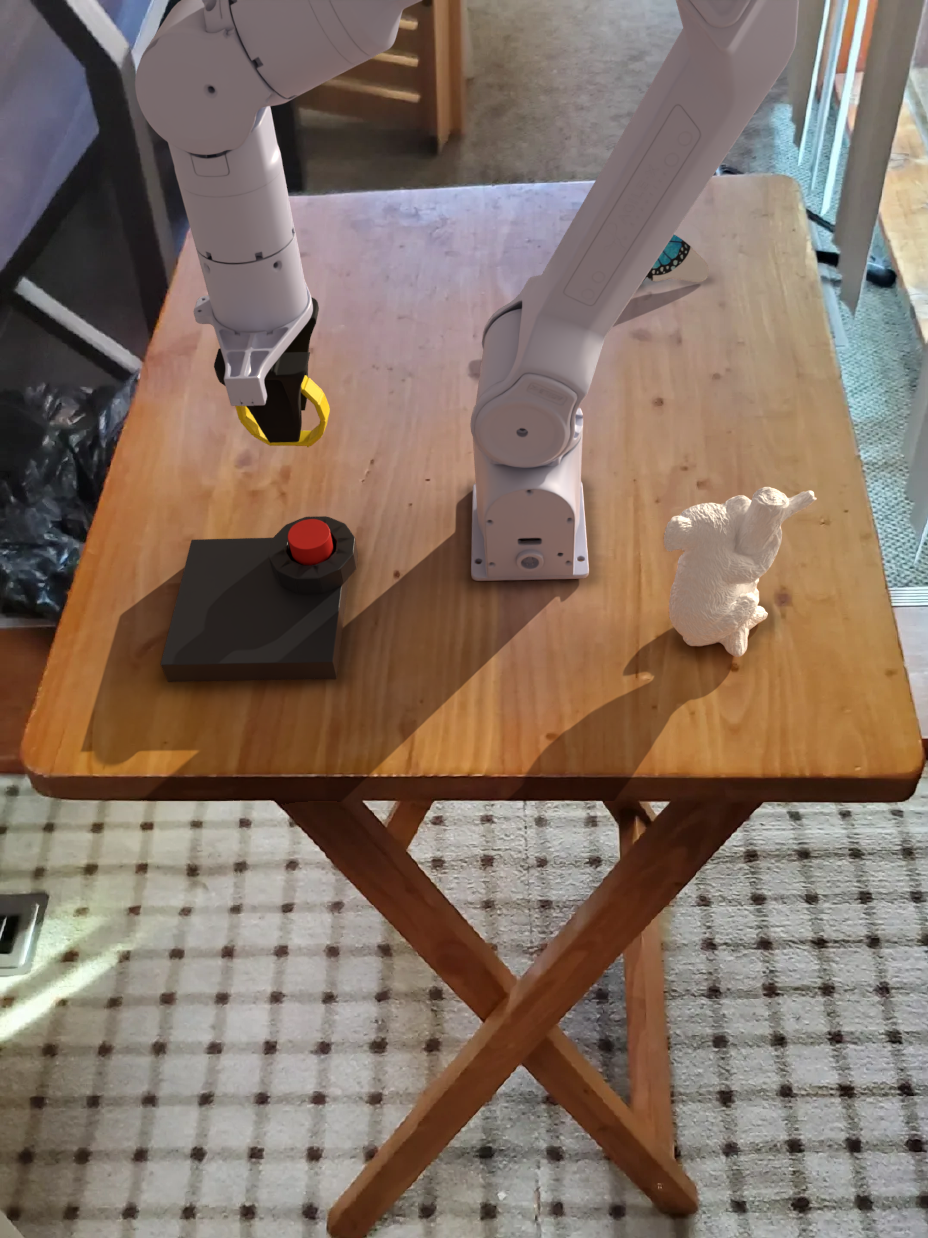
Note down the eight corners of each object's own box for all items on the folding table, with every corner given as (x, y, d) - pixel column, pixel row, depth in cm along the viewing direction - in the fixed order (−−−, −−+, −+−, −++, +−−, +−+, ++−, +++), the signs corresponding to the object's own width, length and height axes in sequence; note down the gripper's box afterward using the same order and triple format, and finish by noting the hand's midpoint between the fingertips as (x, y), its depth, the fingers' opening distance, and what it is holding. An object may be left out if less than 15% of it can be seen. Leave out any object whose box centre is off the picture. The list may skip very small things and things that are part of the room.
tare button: (331, 565, 71) (327, 548, 70) (289, 566, 71) (285, 549, 70) (335, 534, 73) (331, 518, 72) (294, 535, 73) (290, 519, 72)
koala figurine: (776, 590, 72) (810, 454, 62) (790, 671, 67) (830, 537, 58) (647, 590, 72) (663, 455, 63) (654, 670, 68) (671, 538, 59)
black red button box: (350, 679, 69) (342, 645, 66) (168, 682, 70) (153, 649, 67) (363, 550, 76) (357, 515, 73) (198, 554, 77) (186, 519, 74)
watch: (338, 430, 73) (324, 358, 69) (328, 458, 72) (314, 386, 67) (253, 424, 74) (235, 353, 70) (242, 451, 72) (222, 380, 68)
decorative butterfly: (550, 210, 96) (651, 160, 96) (565, 268, 101) (661, 221, 101) (595, 268, 90) (704, 214, 90) (609, 326, 95) (712, 276, 95)
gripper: (199, 174, 66) (245, 357, 77) (148, 313, 57) (208, 499, 67) (313, 170, 66) (344, 354, 76) (280, 309, 56) (320, 497, 67)
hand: (287, 422), depth 72 cm, fingers closed on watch, 2 cm apart
